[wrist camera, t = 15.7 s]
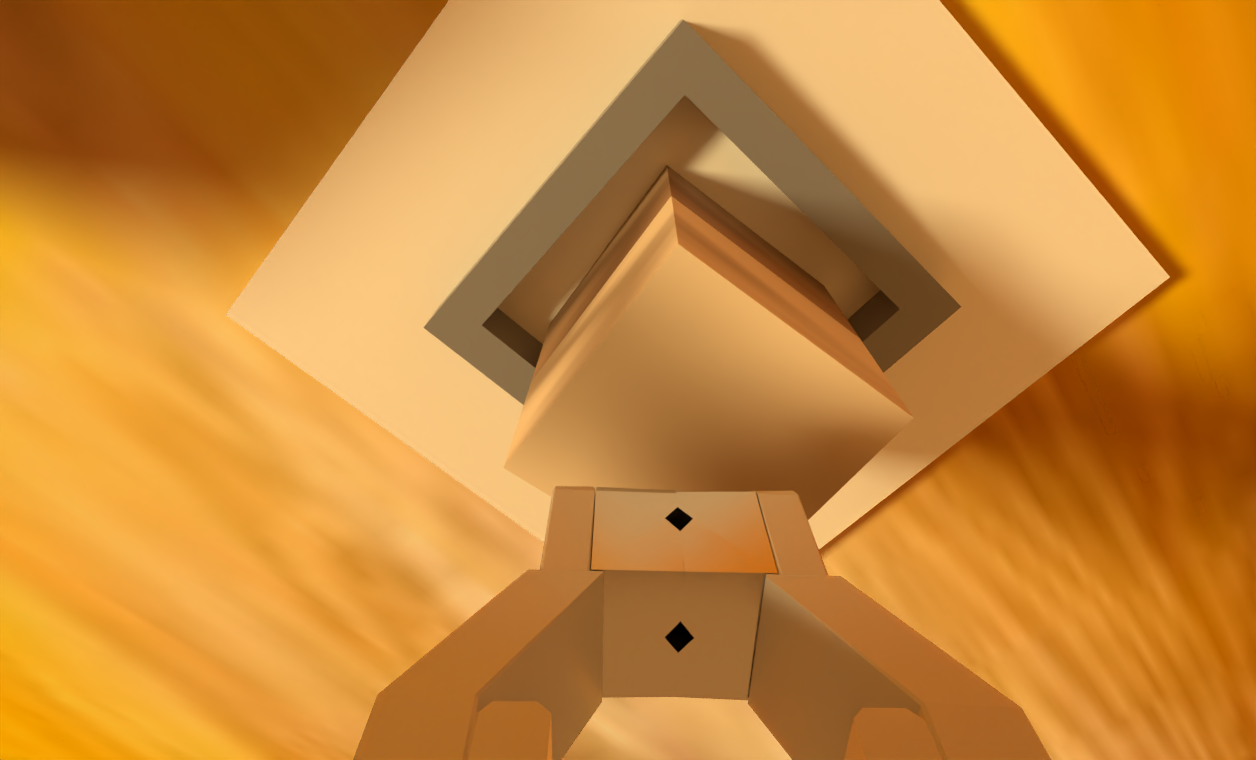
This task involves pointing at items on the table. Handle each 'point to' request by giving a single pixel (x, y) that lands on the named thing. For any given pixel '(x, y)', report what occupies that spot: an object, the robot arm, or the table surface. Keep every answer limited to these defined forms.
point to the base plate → (724, 171)
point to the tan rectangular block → (701, 367)
